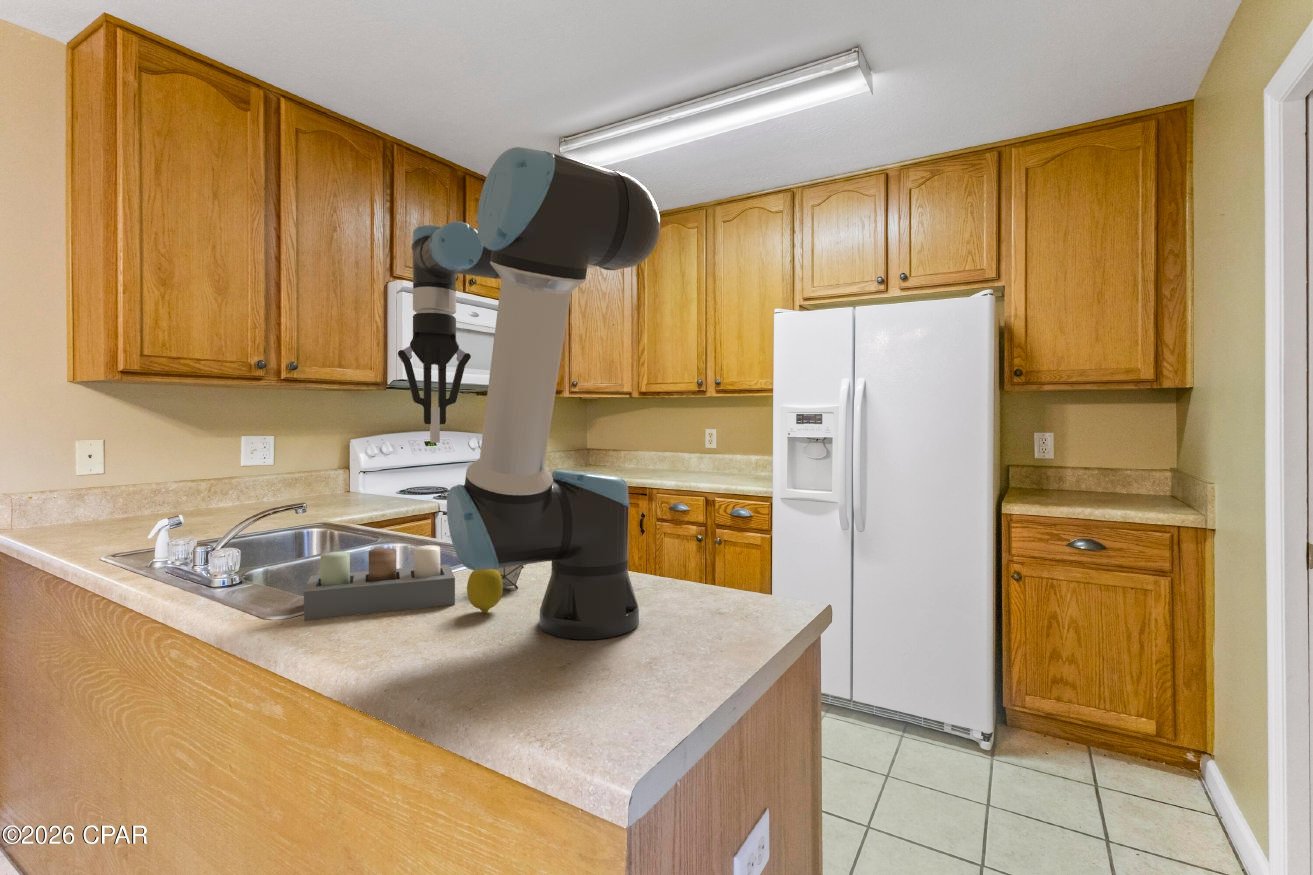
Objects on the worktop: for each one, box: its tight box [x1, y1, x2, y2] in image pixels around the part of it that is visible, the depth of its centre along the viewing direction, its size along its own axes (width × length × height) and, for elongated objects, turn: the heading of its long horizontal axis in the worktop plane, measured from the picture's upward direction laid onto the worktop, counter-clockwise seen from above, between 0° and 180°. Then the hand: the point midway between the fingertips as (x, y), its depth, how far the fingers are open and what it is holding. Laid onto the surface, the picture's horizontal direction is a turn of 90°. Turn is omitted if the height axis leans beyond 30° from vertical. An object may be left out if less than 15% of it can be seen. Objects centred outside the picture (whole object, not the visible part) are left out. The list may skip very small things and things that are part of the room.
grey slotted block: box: [303, 563, 456, 622], centre depth 104 cm, size 10×22×4 cm, turn 114°
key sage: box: [320, 551, 351, 586], centre depth 101 cm, size 4×4×7 cm
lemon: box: [466, 569, 504, 614], centre depth 100 cm, size 6×6×8 cm
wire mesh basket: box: [498, 564, 527, 590], centre depth 114 cm, size 9×8×10 cm
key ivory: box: [413, 544, 441, 578], centre depth 107 cm, size 4×4×7 cm
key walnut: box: [368, 547, 397, 582], centre depth 104 cm, size 4×4×7 cm
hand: (434, 442), depth 116 cm, fingers closed
